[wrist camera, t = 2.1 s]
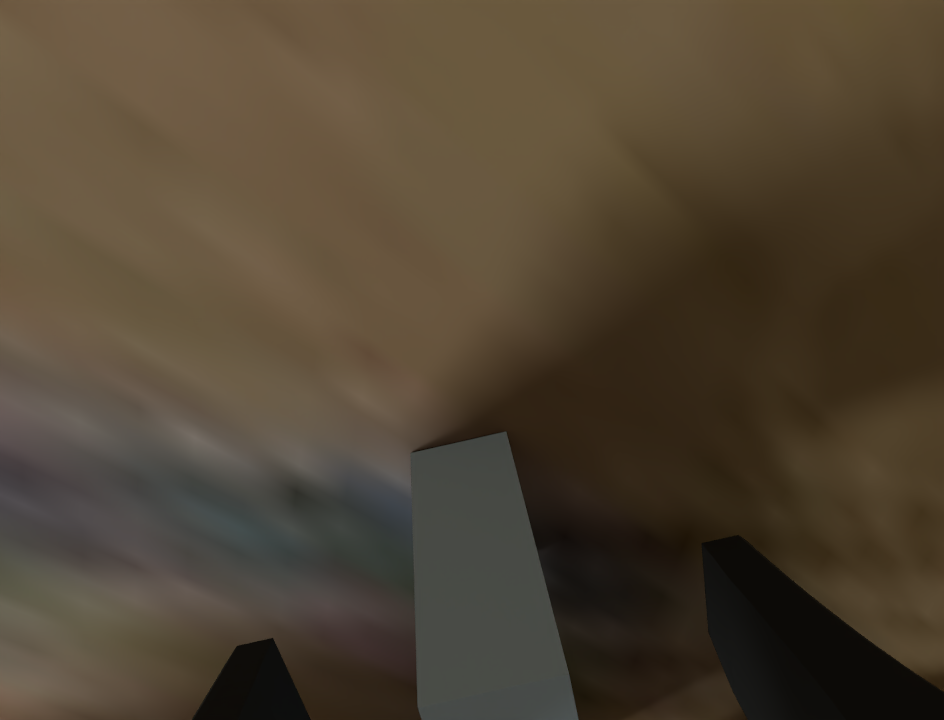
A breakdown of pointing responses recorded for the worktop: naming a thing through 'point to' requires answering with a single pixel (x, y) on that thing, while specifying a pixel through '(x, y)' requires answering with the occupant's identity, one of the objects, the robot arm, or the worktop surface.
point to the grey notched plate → (481, 592)
